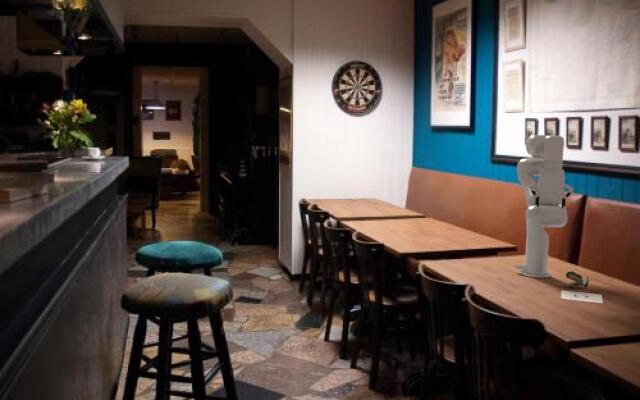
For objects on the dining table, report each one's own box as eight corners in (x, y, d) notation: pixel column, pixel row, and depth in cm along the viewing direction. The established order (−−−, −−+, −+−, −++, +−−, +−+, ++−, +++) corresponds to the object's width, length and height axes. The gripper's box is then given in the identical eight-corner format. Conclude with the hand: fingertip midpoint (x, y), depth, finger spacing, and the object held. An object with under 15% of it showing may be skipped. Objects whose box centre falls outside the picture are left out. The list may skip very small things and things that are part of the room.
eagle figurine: (586, 283, 267) (564, 277, 270) (591, 271, 262) (568, 266, 265) (585, 296, 262) (562, 290, 264) (589, 284, 257) (566, 278, 259)
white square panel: (560, 298, 246) (560, 298, 246) (561, 290, 258) (561, 290, 258) (602, 303, 240) (602, 303, 240) (601, 294, 253) (601, 294, 253)
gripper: (529, 165, 260) (527, 207, 261) (575, 167, 253) (572, 209, 255) (531, 164, 266) (528, 205, 268) (575, 166, 260) (572, 207, 262)
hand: (550, 207), depth 262 cm, fingers open, 9 cm apart
